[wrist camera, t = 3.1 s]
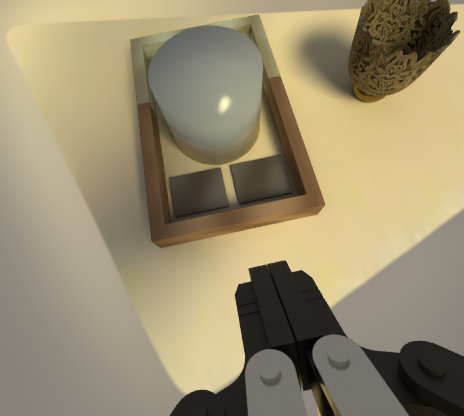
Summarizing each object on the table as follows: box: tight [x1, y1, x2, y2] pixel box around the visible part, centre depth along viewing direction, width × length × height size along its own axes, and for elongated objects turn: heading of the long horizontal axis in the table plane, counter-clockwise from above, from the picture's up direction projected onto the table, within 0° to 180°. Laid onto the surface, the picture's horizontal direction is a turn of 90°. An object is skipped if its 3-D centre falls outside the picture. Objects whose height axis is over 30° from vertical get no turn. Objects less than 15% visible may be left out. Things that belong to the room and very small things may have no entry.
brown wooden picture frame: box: [130, 15, 325, 248], centre depth 27 cm, size 14×23×2 cm, turn 12°
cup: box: [348, 0, 460, 102], centre depth 25 cm, size 8×7×8 cm
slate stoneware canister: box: [148, 26, 263, 165], centre depth 25 cm, size 9×9×8 cm
